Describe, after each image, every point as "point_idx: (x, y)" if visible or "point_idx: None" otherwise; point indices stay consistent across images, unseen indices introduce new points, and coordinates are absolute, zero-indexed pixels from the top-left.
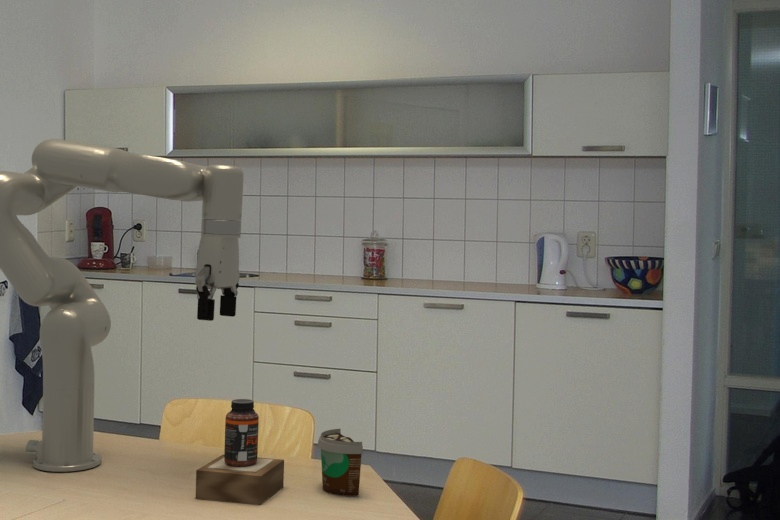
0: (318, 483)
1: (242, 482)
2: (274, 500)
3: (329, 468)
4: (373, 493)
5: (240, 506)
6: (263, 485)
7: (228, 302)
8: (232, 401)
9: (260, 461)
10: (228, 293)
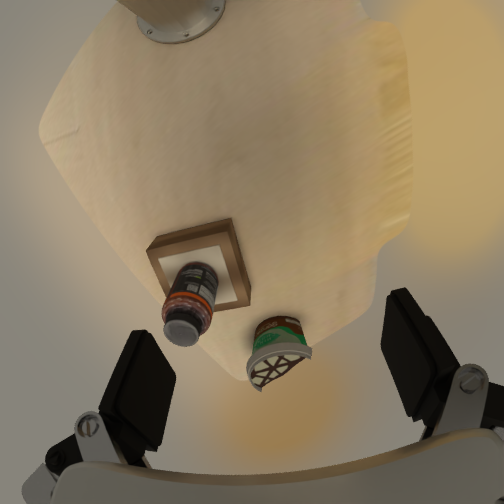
0: (283, 307)
1: None
2: None
3: (253, 348)
4: None
5: None
6: None
7: (405, 378)
8: (165, 325)
9: (220, 292)
10: (429, 414)
